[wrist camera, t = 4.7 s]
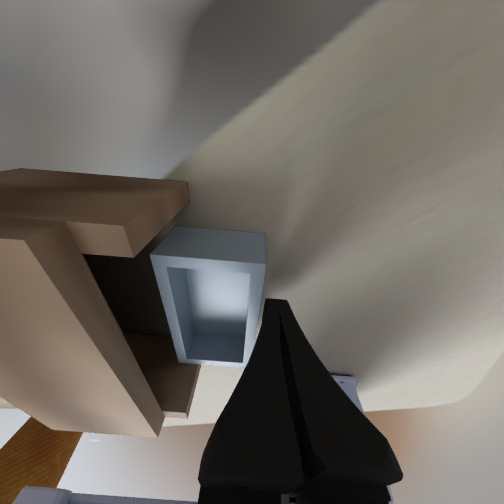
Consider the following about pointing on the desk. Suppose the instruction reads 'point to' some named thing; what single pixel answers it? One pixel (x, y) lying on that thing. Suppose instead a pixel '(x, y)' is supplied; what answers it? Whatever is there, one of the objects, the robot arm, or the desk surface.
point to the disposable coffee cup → (34, 458)
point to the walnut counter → (83, 304)
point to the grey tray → (211, 292)
